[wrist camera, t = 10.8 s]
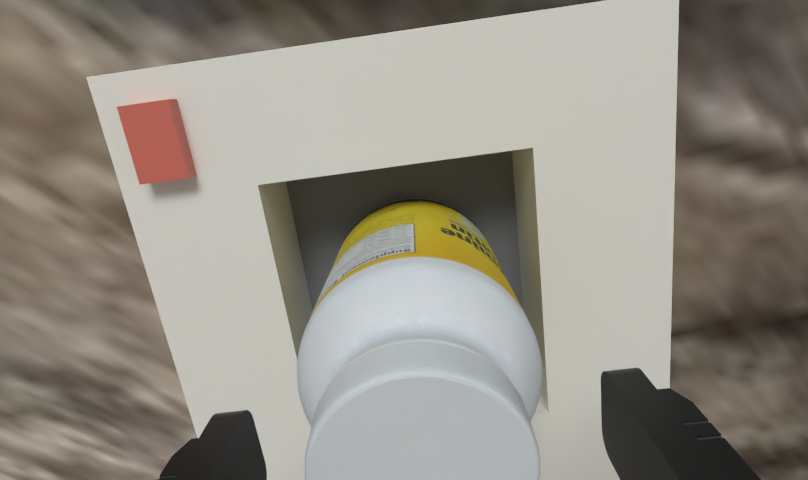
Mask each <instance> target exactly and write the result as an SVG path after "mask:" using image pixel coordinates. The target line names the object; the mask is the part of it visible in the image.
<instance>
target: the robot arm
mask: <svg viewBox="0 0 808 480" xmlns="http://www.w3.org/2000/svg"><path fill="white" fill-rule="evenodd" d="M601 418H602V435H603V441H604V445H605V449H606V452H607V455H608V457H609V459H610V461H611V463H612V465H613V467H614V469H615V471H616V473H617V475H618V476H619V478H620V480H761V479H760V478H759V477H758V476H757V475H756V474H755V473H754V471H753V470H752V469H751V468H750V467H749V466H748V465H747V464H746V462H745V461H744V460H743V459H742V458H741V457H740V456H739V454H738V453H737V452H736V451H735V450H734V449H733V448H732V447H731V445H730V444H729V443H728V442H727V441H726V440H725V439H724V438H722V437H721V434H720V433H719V432H718V431H717V430H716V428H715V427H714V426H713V425H712V424H711V423H708V419H707V418H706V417H705V416H704V415H703V414H702V412H701V411H700V410H699V409H698V408H697V407H696V406H695V405H694V403H693V402H691V401H690V400H688V399H686V398H685V397H683V396H681V395H680V394H678V393H676V392H675V391H673V390H671V389H670V388H666V389H656V388H655V386H654V385H653V384H652V383H651V381H650V380H649V379H648V378H647V376H646V375H645V374H644V373H643V371H642V370H641V369H639V368H629V369H620V370H611V371H603V372H602V374H601ZM158 480H267V471H266V464H265V460H264V456H263V452H262V449H261V445H260V441H259V438H258V434H257V430H256V427H255V423H254V419H253V416H252V414H251V412H250V411H248V410H242V411H233V412H224V413H216V414H214V415H213V416H212V417H211V419H210V420H209V422H208V424H207V425H206V427H205V429H204V430H203V432H202V434H201V435H200V437H199V438H196V439H191V440H190V441H189V442H187V443H186V444H185V445H184V446H183V447H182V448H181V449H180V450H179V451H177V452H176V453H175V454H174V455H173V456H172V457H171V459H170V460H169V462H168V463H167V465H166V467H165V468H164V470H163V471H162V473H161V474H160V479H158Z"/></svg>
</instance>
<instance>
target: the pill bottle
mask: <svg viewBox="0 0 808 480" xmlns="http://www.w3.org/2000/svg"><path fill="white" fill-rule="evenodd" d="M297 385H298V392H299V397H300V401H301V404H302V407H303V410H304V413H305V415H306V417H307V420H308V422H309V424H310V426H311V431H310V435H309V440H308V444H307V449H306V455H305V479H306V480H539V477H540V456H539V448H538V444H537V441H536V437H535V434H534V431H533V428H532V425H531V420H532V418H533V415H534V413H535V410H536V407H537V404H538V401H539V397H540V392H541V385H542V362H541V355H540V350H539V346H538V342H537V339H536V336H535V334H534V331H533V329H532V327H531V325H530V323H529V321H528V318H527V316H526V314H525V313H524V311H523V309H522V307H521V305H520V303H519V301H518V299H517V297H516V296H515V294H514V292H513V290H512V288H511V286H510V284H509V282H508V280H507V278H506V276H505V275H504V273H503V271H502V269H501V267H500V265H499V263H498V261H497V259H496V257H495V255H494V253H493V251H492V249H491V247H490V245H489V243H488V242H487V240H486V238H485V236H484V235H483V233H482V232H481V230H480V229H479V228H478V227H477V226H476V224H475V223H474V222H473V221H472V220H470V219H469V218H468V217H467V216H466V215H464V214H463V213H462V212H460V211H459V210H457V209H455V208H453V207H451V206H449V205H447V204H445V203H442V202H438V201H435V200H430V199H421V198H410V199H402V200H397V201H393V202H390V203H387V204H384V205H382V206H380V207H378V208H376V209H374V210H373V211H371V212H370V213H368V214H367V215H365V216H364V217H363V218H362V219H361V220H360V221H359V222H358V223H357V224H356V225H355V226H354V227H353V228H352V229H351V231H350V232H349V234H348V235H347V237H346V239H345V240H344V242H343V244H342V246H341V248H340V251H339V253H338V255H337V257H336V260H335V262H334V265H333V267H332V269H331V271H330V274H329V276H328V278H327V280H326V283H325V285H324V287H323V289H322V292H321V294H320V296H319V298H318V301H317V303H316V305H315V307H314V310H313V312H312V314H311V317H310V319H309V321H308V324H307V326H306V329H305V331H304V334H303V337H302V340H301V344H300V348H299V353H298V360H297Z"/></svg>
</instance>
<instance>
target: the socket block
mask: <svg viewBox="0 0 808 480" xmlns="http://www.w3.org/2000/svg"><path fill="white" fill-rule="evenodd" d="M678 23H679V0H606V1H599V2H593V3H586V4H579V5H572V6H566V7H559V8H552V9H545V10H538V11H532V12H525V13H518V14H511V15H505V16H498V17H491V18H484V19H478V20H471V21H464V22H457V23H450V24H444V25H437V26H430V27H423V28H417V29H410V30H403V31H396V32H390V33H383V34H376V35H369V36H362V37H356V38H349V39H342V40H335V41H329V42H322V43H315V44H308V45H301V46H295V47H288V48H281V49H274V50H268V51H261V52H254V53H247V54H241V55H234V56H227V57H220V58H213V59H207V60H200V61H193V62H186V63H180V64H173V65H166V66H159V67H153V68H146V69H139V70H132V71H125V72H119V73H112V74H105V75H98V76H92V77H86V78H87V81H88V84H89V88H90V91H91V94H92V97H93V101H94V104H95V107H96V110H97V113H98V117H99V120H100V123H101V126H102V130H103V133H104V136H105V139H106V143H107V146H108V149H109V152H110V156H111V159H112V162H113V165H114V169H115V172H116V175H117V178H118V182H119V185H120V188H121V191H122V195H123V198H124V201H125V204H126V208H127V211H128V214H129V217H130V220H131V224H132V227H133V230H134V233H135V237H136V240H137V243H138V246H139V250H140V253H141V256H142V259H143V263H144V266H145V269H146V272H147V276H148V279H149V282H150V285H151V289H152V292H153V295H154V298H155V302H156V305H157V308H158V311H159V315H160V318H161V321H162V324H163V327H164V331H165V334H166V337H167V340H168V344H169V347H170V350H171V353H172V357H173V360H174V363H175V366H176V370H177V373H178V376H179V379H180V383H181V386H182V389H183V392H184V396H185V399H186V402H187V405H188V409H189V412H190V415H191V418H192V421H193V425H194V428H195V431H196V434H197V438H199V437H200V435H201V434H202V432H203V430H204V429H205V427H206V425H207V424H208V422H209V420H210V419H211V417H212V416H213V415H214V414H216V413H224V412H233V411H242V410H248V411H250V412H251V414H252V416H253V419H254V423H255V427H256V430H257V434H258V438H259V441H260V445H261V449H262V452H263V456H264V460H265V464H266V471H267V480H306V479H305V455H306V449H307V444H308V440H309V435H310V431H311V426H310V424H309V422H308V420H307V417H306V415H305V413H304V410H303V407H302V404H301V401H300V397H299V392H298V385H297V360H298V353H299V348H300V344H301V340H302V337H303V334H304V331H305V329H306V326H307V324H308V321H309V319H310V317H311V314H312V312H313V310H314V307H315V305H316V303H317V301H318V298H319V296H320V294H321V292H322V289H323V287H324V285H325V283H326V280H327V278H328V276H329V274H330V271H331V269H332V267H333V265H334V262H335V260H336V257H337V255H338V253H339V251H340V248H341V246H342V244H343V242H344V240H345V239H346V237H347V235H348V234H349V232H350V231H351V229H352V228H353V227H354V226H355V225H356V224H357V223H358V222H359V221H360V220H361V219H362V218H363V217H364V216H365V215H367V214H368V213H370V212H371V211H373V210H374V209H376V208H378V207H380V206H382V205H384V204H387V203H390V202H393V201H397V200H402V199H410V198H421V199H430V200H435V201H438V202H442V203H445V204H447V205H449V206H451V207H453V208H455V209H457V210H459V211H460V212H462V213H463V214H464V215H466V216H467V217H468V218H469V219H470V220H472V221H473V222H474V223H475V224H476V226H477V227H478V228H479V229H480V230H481V232H482V233H483V235H484V236H485V238H486V240H487V242H488V243H489V245H490V247H491V249H492V251H493V253H494V255H495V257H496V259H497V261H498V263H499V265H500V267H501V269H502V271H503V273H504V275H505V276H506V278H507V280H508V282H509V284H510V286H511V288H512V290H513V292H514V294H515V296H516V297H517V299H518V301H519V303H520V305H521V307H522V309H523V311H524V313H525V314H526V316H527V318H528V321H529V323H530V325H531V327H532V329H533V331H534V334H535V336H536V339H537V342H538V346H539V350H540V355H541V362H542V385H541V392H540V397H539V401H538V404H537V407H536V410H535V413H534V415H533V418H532V420H531V425H532V428H533V431H534V434H535V437H536V441H537V444H538V448H539V456H540V477H539V480H620V478H619V476H618V475H617V473H616V471H615V469H614V467H613V465H612V463H611V461H610V459H609V457H608V455H607V452H606V449H605V445H604V441H603V435H602V418H601V374H602V372H603V371H611V370H620V369H629V368H639V369H641V370H642V371H643V373H644V374H645V375H646V376H647V378H648V379H649V380H650V381H651V383H652V384H653V385H654V386H655V388H656V389H666V388H670V349H671V308H672V267H673V227H674V186H675V145H676V104H677V64H678Z"/></svg>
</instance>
